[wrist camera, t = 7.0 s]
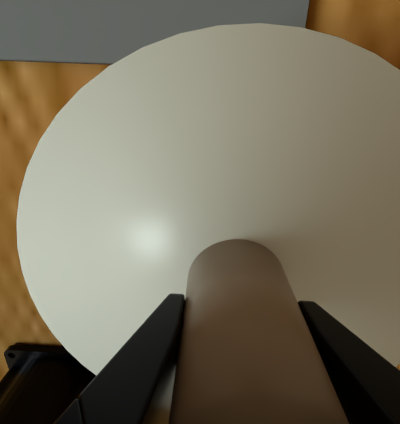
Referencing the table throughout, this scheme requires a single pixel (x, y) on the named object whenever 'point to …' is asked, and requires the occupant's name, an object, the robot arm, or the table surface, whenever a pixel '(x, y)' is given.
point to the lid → (223, 214)
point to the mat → (122, 25)
